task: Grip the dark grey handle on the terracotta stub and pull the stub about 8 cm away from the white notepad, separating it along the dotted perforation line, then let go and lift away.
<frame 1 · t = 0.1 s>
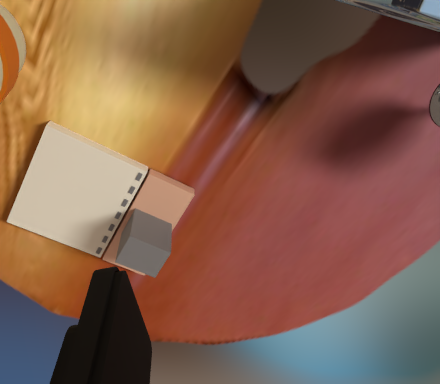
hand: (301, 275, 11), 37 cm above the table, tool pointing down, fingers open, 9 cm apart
white notepad: (109, 204, 51), on the table
stub: (145, 238, 49), point 4 cm above the table, slide at 0.0 cm
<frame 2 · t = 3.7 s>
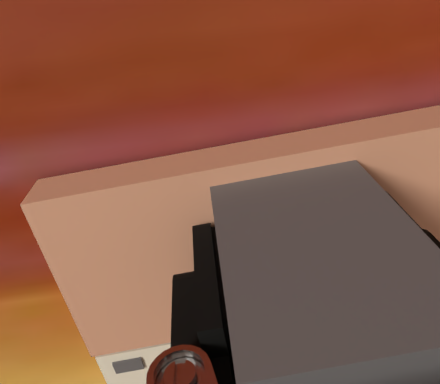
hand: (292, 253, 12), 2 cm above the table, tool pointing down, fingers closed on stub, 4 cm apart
white notepad: (290, 328, 16), on the table
stub: (311, 300, 10), point 4 cm above the table, slide at 0.0 cm, touching gripper
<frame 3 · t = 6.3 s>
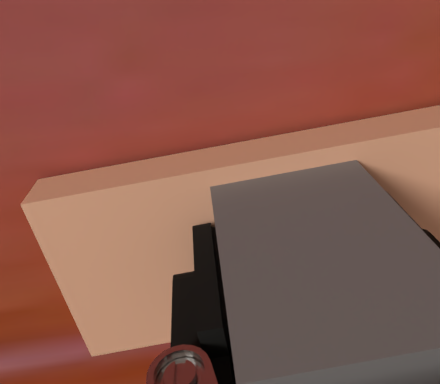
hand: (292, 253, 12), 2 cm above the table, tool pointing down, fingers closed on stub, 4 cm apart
stub: (311, 300, 10), point 4 cm above the table, slide at 8.0 cm, touching gripper
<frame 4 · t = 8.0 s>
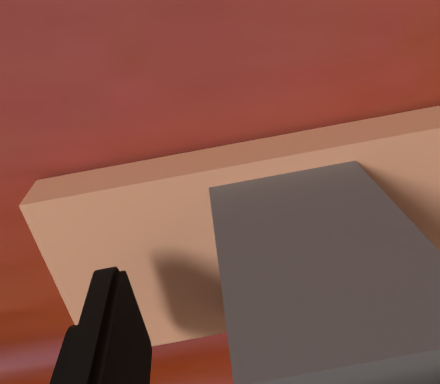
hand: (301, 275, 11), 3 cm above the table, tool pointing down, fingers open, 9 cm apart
stub: (310, 301, 10), point 4 cm above the table, slide at 8.0 cm
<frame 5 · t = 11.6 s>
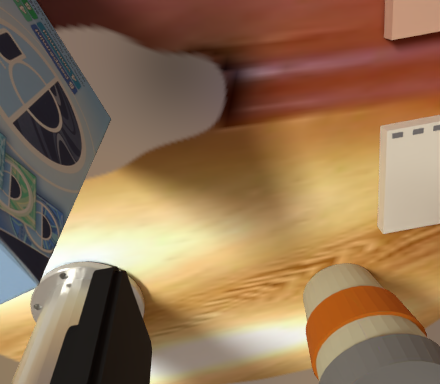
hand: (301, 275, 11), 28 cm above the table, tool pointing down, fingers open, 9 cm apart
gum box: (26, 31, 33), on the table
reusable coffee cup: (338, 291, 50), on the table
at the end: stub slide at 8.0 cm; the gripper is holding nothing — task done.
